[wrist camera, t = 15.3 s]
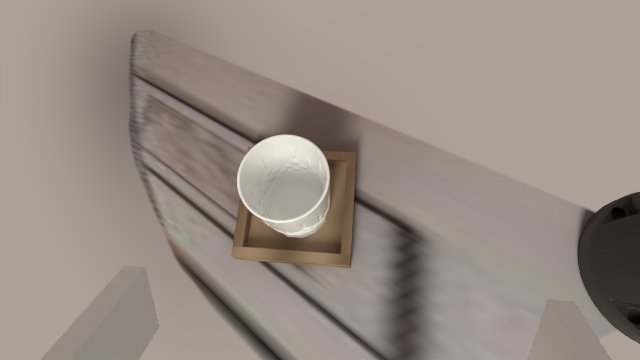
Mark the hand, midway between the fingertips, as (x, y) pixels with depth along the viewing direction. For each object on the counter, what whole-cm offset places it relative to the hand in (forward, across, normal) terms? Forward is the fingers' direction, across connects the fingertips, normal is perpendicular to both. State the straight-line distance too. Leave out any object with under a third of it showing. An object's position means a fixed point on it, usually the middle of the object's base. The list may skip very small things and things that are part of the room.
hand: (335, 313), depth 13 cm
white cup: (+27, -6, -12) cm, 30 cm away
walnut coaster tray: (+27, -6, -12) cm, 30 cm away
